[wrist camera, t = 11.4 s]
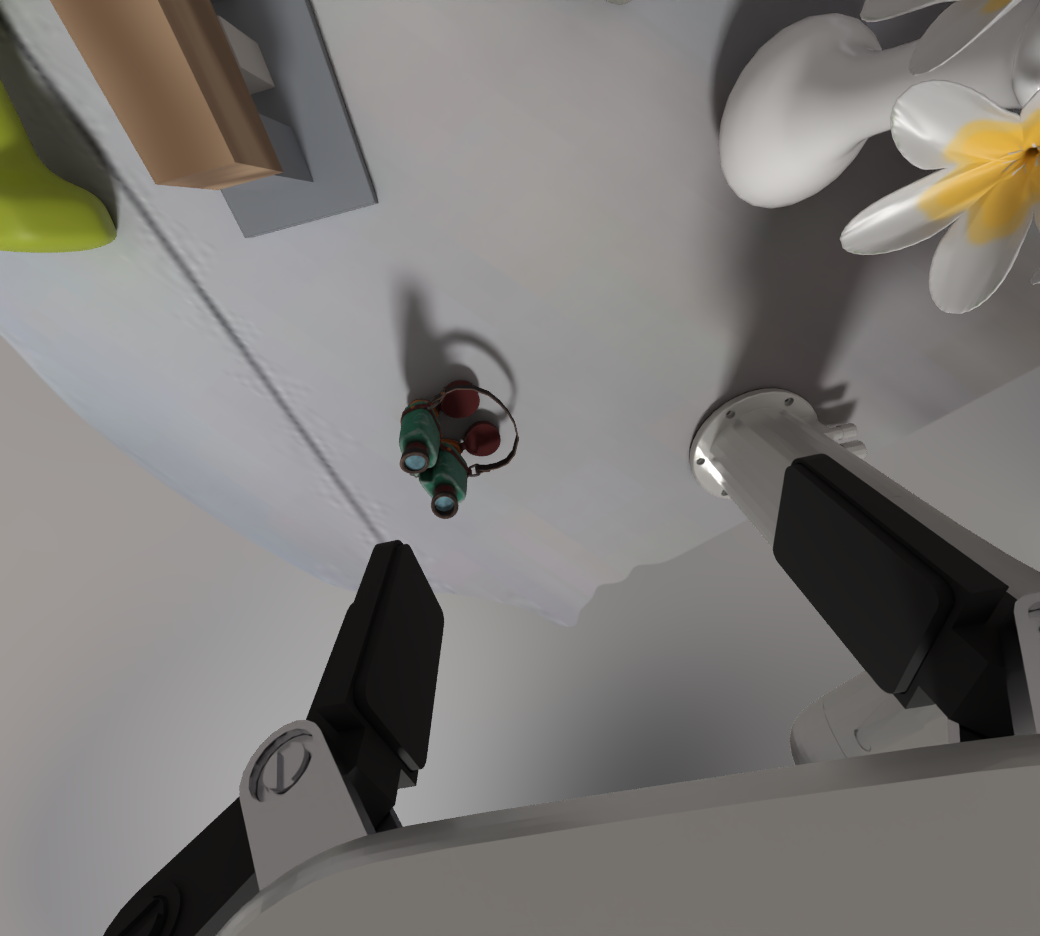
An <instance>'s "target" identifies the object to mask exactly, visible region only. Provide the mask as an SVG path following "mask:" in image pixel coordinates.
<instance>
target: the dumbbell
mask: <svg viewBox="0 0 1040 936" xmlns="http://www.w3.org/2000/svg"><path fill="white" fill-rule="evenodd" d="M116 236H117V232H116V229H115V226H114V224H113V221H112V219H111V217H110V215H109V213H108V211H107V209H106V207H105V206H104V204H103V203H102V202H101V201H100V199H99V198H97V197H96V196H95V195H93V194H92V193H90V192H89V191H87V190H85V189H83V188H81V187H79V186H76V185H74V184H72V183H70V182H67V181H65V180H63V179H62V178H60V177H58V176H57V175H55V174H54V173H53V172H51V171H50V170H49V169H48V168H47V167H46V166H45V165H44V164H43V163H42V161H41V160H40V159H39V158H38V156H37V154H36V153H35V151H34V149H33V147H32V144H31V142H30V140H29V138H28V135H27V133H26V131H25V129H24V127H23V124H22V122H21V120H20V118H19V116H18V114H17V112H16V110H15V108H14V106H13V104H12V102H11V100H10V97H9V95H8V93H7V91H6V89H5V87H4V85H3V83H2V81H1V79H0V250H2V251H13V252H37V253H50V252H73V251H83V250H89V249H94V248H98V247H101V246H104V245H106V244H108V243H110V242H112V241H113V240H115V238H116Z"/></svg>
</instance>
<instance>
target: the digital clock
mask: <svg viewBox="0 0 1040 936" xmlns="http://www.w3.org/2000/svg"><path fill="white" fill-rule="evenodd" d="M606 1H608V2H610V3H613V4H618V5H621V4H626V3H628V2H630V1H631V0H606Z"/></svg>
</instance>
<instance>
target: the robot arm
mask: <svg viewBox="0 0 1040 936" xmlns="http://www.w3.org/2000/svg"><path fill="white" fill-rule="evenodd" d="M856 435H857V428H856V426H855V425H854V424H852V423H849V424H844V425H839V426H836V427H833V428H829V427H827V426H825V425H823V424H821V423H820V422H818V418H817V414H816V413H815V411H814V409H813V407H812V406H811V405H810V404H809V403H808V402H807V401H806V400H805V399H803V398H802V397H800V396H798V395H797V394H795V393H792V392H790V391H787V390H782V389H776V388H771V389H760V390H755V391H750V392H748V393H745V394H742V395H740V396H737V397H735V398H734V399H732V400H730V401H728V402H726V403H725V404H724V405H722V406H721V407H720V408H718V409H717V410H716V411H714V412H713V413H712V414H711V415H710V417H709V418H708V419H707V420H706V421H705V422H704V423H703V425H702V426H701V427H700V429H699V430H698V432H697V434H696V436H695V438H694V440H693V443H692V446H691V450H690V467H691V471H692V473H693V475H694V478H695V479H696V480H697V482H698V483H699V484H700V486H701V487H702V488H704V489H705V490H706V491H707V492H709V493H711V494H712V495H714V496H717V497H720V498H725V499H732V500H733V501H734V502H735V504H736V505H737V506H738V507H739V509H740V510H741V511H742V512H743V513H744V515H745V516H746V517H747V518H748V519H749V521H750V522H751V523H752V524H753V525H754V527H756V529H757V530H758V531H759V533H760V534H761V535H762V536H763V537H764V539H765V540H766V541H767V542H768V544H769V545H770V546H771V547H772V548H773V553H774V556H775V558H776V560H777V562H778V563H779V564H780V566H781V567H782V568H783V569H784V571H785V572H786V573H787V574H788V575H789V577H790V578H791V579H792V580H793V582H794V583H795V584H796V585H797V587H798V588H799V589H800V590H801V591H802V593H803V594H804V595H805V596H806V597H807V599H808V600H809V601H810V602H811V604H812V605H813V606H814V607H815V609H816V610H817V611H818V612H819V614H820V615H821V616H822V617H823V619H824V620H825V621H826V622H827V624H828V625H829V626H830V627H831V628H832V630H833V631H834V632H835V633H836V635H837V636H838V637H839V638H840V640H841V641H842V642H843V643H844V644H845V646H846V647H847V648H848V649H849V650H850V652H851V653H852V654H853V656H854V657H855V658H856V659H857V660H858V662H859V663H860V664H861V665H862V667H863V668H864V669H865V671H863V672H861V673H860V674H858V675H857V676H855V677H853V678H852V679H850V680H848V681H847V682H845V683H843V684H842V685H840V686H838V687H837V688H835V689H834V690H832V691H830V692H829V693H827V694H825V695H824V696H822V697H820V698H819V699H817V700H816V701H814V702H813V703H812V704H810V705H809V706H808V707H806V708H805V709H804V710H803V711H802V712H801V713H800V714H799V715H798V716H797V718H796V719H795V721H794V723H793V725H792V728H791V732H790V747H791V754H792V757H793V760H794V763H795V766H788V767H781V768H774V769H768V770H761V771H754V772H747V773H740V774H734V775H727V776H720V777H714V778H707V779H700V780H693V781H688V782H680V783H673V784H667V785H660V786H654V787H648V788H640V789H634V790H627V791H620V792H614V793H607V794H601V795H594V796H588V797H581V798H575V799H568V800H562V801H556V802H549V803H543V804H537V805H530V806H523V807H517V808H511V809H504V810H497V811H491V812H485V813H479V814H473V815H467V816H462V817H456V818H450V819H445V820H440V821H433V822H427V823H422V824H416V825H411V826H405V827H403V826H402V824H401V822H400V820H399V818H398V816H397V814H396V813H395V811H394V809H393V806H394V805H395V801H396V796H397V790H398V789H399V788H406V787H412V786H416V783H417V776H418V769H422V768H423V767H424V766H425V763H426V759H427V752H428V743H429V736H430V728H431V720H432V713H433V705H434V697H435V690H436V682H437V674H438V666H439V658H440V650H441V643H442V636H443V627H444V616H443V612H442V609H441V607H440V605H439V603H438V601H437V599H436V597H435V595H434V593H433V591H432V589H431V587H430V585H429V583H428V581H427V579H426V577H425V575H424V573H423V571H422V569H421V567H420V565H419V563H418V561H417V559H416V557H415V555H414V553H413V551H412V549H411V547H410V546H409V545H408V544H404V545H403V543H402V542H401V541H400V540H395V541H390V542H385V543H381V544H377V545H375V547H374V549H373V552H372V554H371V557H370V560H369V562H368V565H367V568H366V571H365V573H364V576H363V579H362V581H361V584H360V587H359V589H358V592H357V595H356V598H355V600H354V602H353V603H352V604H351V605H350V607H349V609H348V610H347V613H346V615H345V618H344V621H343V623H342V626H341V629H340V631H339V634H338V637H337V639H336V642H335V644H334V647H333V650H332V652H331V655H330V658H329V660H328V663H327V666H326V668H325V671H324V673H323V676H322V679H321V682H320V684H319V687H318V689H317V692H316V695H315V698H314V700H313V703H312V705H311V708H310V710H309V713H308V716H307V718H306V720H299V721H294V722H292V723H290V724H287V725H285V726H283V727H281V728H280V729H278V730H277V731H275V732H274V733H272V735H270V737H268V738H267V739H266V740H265V741H264V742H263V743H262V744H261V745H260V746H259V748H258V749H257V750H256V752H255V753H254V754H253V756H252V757H251V759H250V761H249V763H248V765H247V766H246V769H245V770H244V772H243V776H242V780H241V783H240V796H239V797H238V798H237V799H236V800H235V801H234V802H233V803H232V804H231V805H230V806H229V807H228V808H227V809H226V810H224V811H223V812H222V813H221V814H220V815H219V816H218V817H217V818H216V819H215V820H214V821H213V822H212V823H211V824H210V825H208V826H207V827H206V828H205V829H204V830H203V831H202V832H201V833H200V834H199V835H198V836H197V837H196V838H195V839H193V840H192V841H191V842H190V843H189V844H188V845H187V846H186V847H185V848H184V849H183V850H182V851H181V852H180V853H178V854H177V855H176V856H175V857H174V858H173V859H172V860H171V861H170V862H169V863H168V864H167V865H166V866H165V867H164V868H162V869H161V870H160V871H159V872H158V873H157V874H156V875H155V876H154V877H153V878H152V879H151V880H150V881H148V882H147V883H146V884H145V885H144V886H143V887H142V888H141V889H140V890H139V891H138V892H137V893H136V894H135V895H134V896H133V897H132V898H131V899H130V900H129V901H128V903H127V904H126V905H125V906H124V907H123V908H122V909H121V910H120V912H119V913H118V915H117V916H116V917H115V919H114V920H113V921H112V923H111V924H110V925H109V927H108V928H107V930H106V932H105V933H104V935H103V936H1040V572H1039V571H1037V570H1035V569H1034V568H1032V567H1030V566H1028V565H1026V564H1024V563H1023V562H1021V561H1019V560H1017V559H1015V558H1013V557H1012V556H1010V555H1008V554H1006V553H1005V552H1003V551H1002V550H1000V549H999V548H997V547H995V546H994V545H992V544H991V543H989V542H987V541H986V540H984V539H982V538H981V537H979V536H978V535H976V534H974V533H973V532H971V531H970V530H968V529H966V528H965V527H963V526H961V525H960V524H958V523H957V522H955V521H954V520H952V519H951V518H949V517H948V516H946V515H944V514H943V513H942V512H940V511H939V510H937V509H936V508H934V507H933V506H931V505H929V504H928V503H927V502H925V501H923V500H922V499H920V498H919V497H917V496H916V495H914V494H912V493H911V492H910V491H908V490H907V489H905V488H904V487H902V486H901V485H899V484H898V483H896V482H895V481H893V480H892V479H890V478H889V477H887V476H886V475H884V474H883V473H881V472H880V471H878V470H877V469H875V468H874V467H872V466H871V465H869V464H868V463H866V462H865V461H863V460H862V459H863V458H865V456H866V454H867V449H866V447H865V445H864V444H863V443H862V442H861V441H858V440H856V441H851V442H846V443H841V444H838V443H837V442H835V441H834V440H842V439H847V438H852V437H855V436H856Z"/></svg>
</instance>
